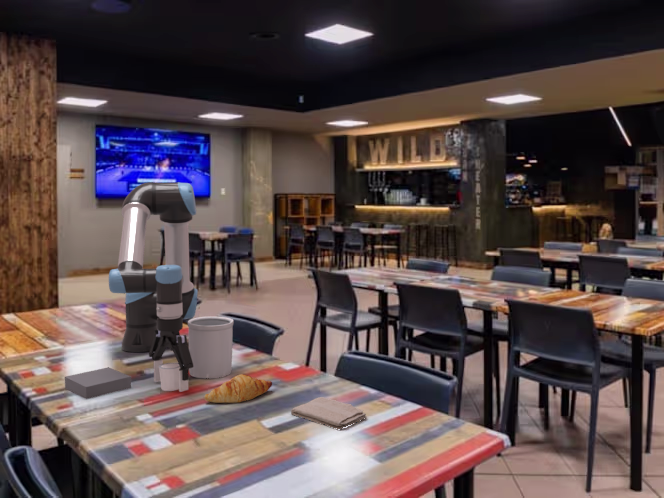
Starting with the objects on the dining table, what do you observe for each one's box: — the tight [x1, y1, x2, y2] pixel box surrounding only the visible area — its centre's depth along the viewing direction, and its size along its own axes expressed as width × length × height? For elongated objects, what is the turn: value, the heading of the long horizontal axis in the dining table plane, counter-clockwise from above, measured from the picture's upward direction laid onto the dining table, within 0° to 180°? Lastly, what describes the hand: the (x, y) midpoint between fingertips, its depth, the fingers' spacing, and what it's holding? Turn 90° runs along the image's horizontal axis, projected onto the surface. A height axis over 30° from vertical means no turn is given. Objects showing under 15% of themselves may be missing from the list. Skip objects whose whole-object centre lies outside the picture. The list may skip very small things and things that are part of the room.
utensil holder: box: [187, 315, 235, 379], centre depth 198 cm, size 15×15×18 cm
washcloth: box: [290, 396, 367, 430], centre depth 160 cm, size 12×18×3 cm, turn 51°
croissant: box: [203, 373, 273, 404], centre depth 174 cm, size 21×10×8 cm, turn 125°
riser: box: [64, 366, 132, 400], centre depth 182 cm, size 14×14×4 cm
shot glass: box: [159, 362, 180, 392], centre depth 182 cm, size 7×7×7 cm
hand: (170, 385), depth 183 cm, fingers open, 13 cm apart
